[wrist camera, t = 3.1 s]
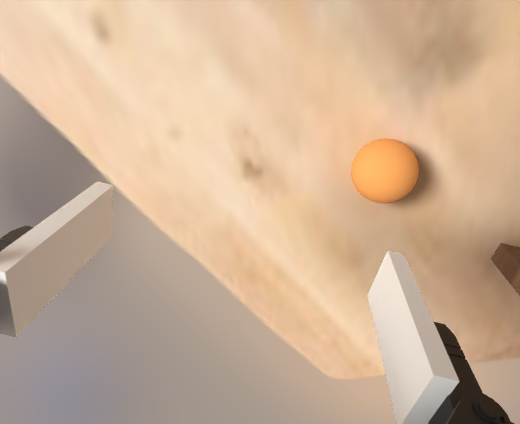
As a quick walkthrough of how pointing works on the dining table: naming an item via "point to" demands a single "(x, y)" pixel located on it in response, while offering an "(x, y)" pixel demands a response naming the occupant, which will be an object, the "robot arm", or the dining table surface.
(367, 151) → the ball
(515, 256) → the bridge
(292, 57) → the dining table surface
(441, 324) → the robot arm
